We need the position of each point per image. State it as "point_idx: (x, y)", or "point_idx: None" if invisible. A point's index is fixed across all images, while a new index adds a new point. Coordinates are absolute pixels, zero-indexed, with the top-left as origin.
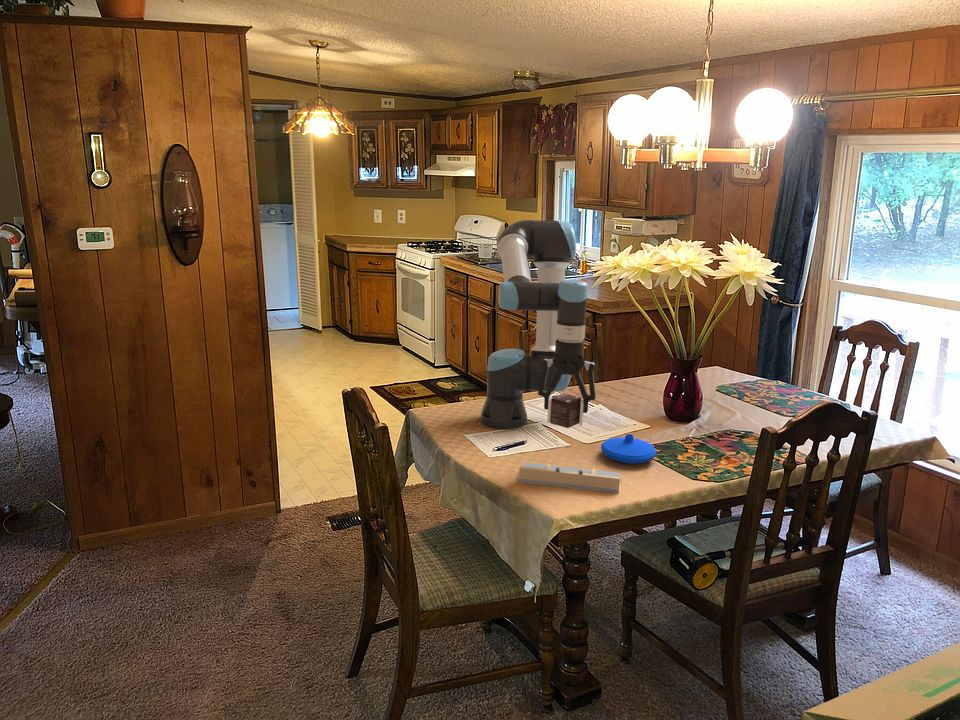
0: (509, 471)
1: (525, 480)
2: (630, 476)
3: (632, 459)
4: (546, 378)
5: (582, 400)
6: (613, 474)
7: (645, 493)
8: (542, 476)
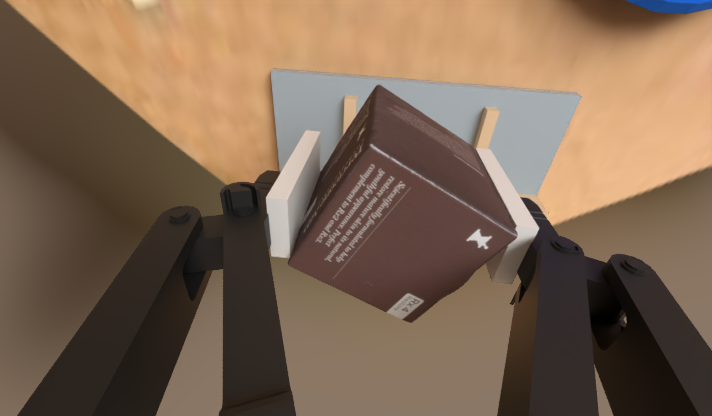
0: (242, 117)
1: None
2: (616, 85)
3: (686, 12)
4: (145, 319)
5: (515, 251)
6: (553, 112)
7: (604, 190)
8: None
